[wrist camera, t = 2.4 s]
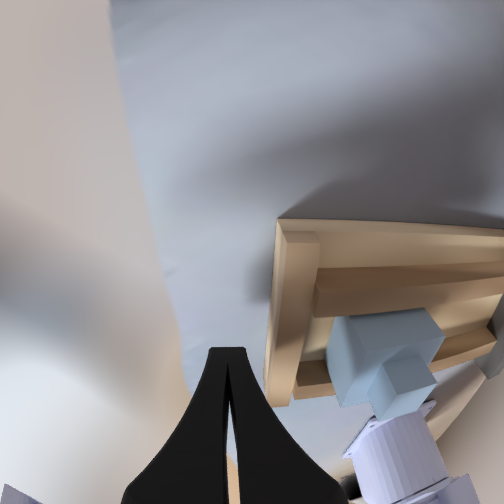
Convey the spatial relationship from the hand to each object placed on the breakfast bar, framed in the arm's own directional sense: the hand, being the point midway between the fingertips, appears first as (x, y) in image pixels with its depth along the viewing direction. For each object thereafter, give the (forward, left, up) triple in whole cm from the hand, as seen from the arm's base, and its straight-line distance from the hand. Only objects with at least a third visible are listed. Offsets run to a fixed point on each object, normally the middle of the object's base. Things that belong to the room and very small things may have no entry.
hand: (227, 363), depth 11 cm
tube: (-46, -23, -3) cm, 51 cm away
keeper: (0, -7, -2) cm, 7 cm away
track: (0, -11, -3) cm, 11 cm away
